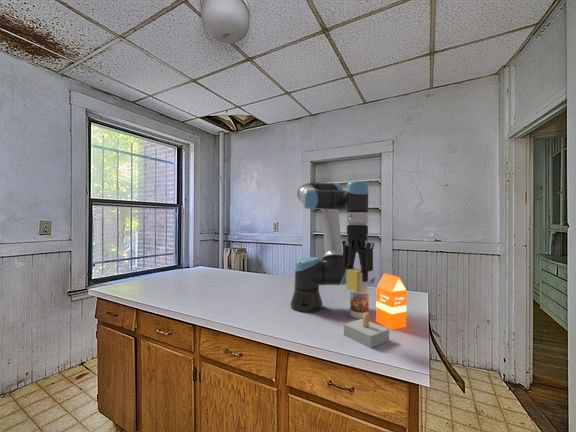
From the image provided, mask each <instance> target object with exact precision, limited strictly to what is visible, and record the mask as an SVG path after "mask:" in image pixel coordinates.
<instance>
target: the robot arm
mask: <svg viewBox="0 0 576 432" xmlns="http://www.w3.org/2000/svg"><path fill="white" fill-rule="evenodd" d="M369 191H370V190H369V183H367V181H350V182H347V185H346V190H344V189H343V187H342V185H341V184H340V183H336V182H335V183H334V182H308V183H305V184H302V185H301V186H300V187H298V189H297V193H296V196H297V198H298V200H299V201H300V202H301V203H302V205H303V208H304V209H307V210H320V211H322V213H321V215H322V216H321V217H322V229H323V242H324V255H323V256H322V260H321V259H320V257H317V256H314V257H313V256H309V257H303V258H299V259H297V260H295V263H294V265H295V266H294V292H293V293H292V294H293V295H292V298H291V301H290V308H291V309H292V310H295V311H297V312H303V313H313V312H314V313H315V312H318V311H321V310H322V309H323V301H322V298H321V294H320V286H344V285H345V286H346V278H347V270H348V269H355V267H354V265H355V260H356V254H358V258H359V259H358V260H359V265H360V269H361V271H360V291H366V290H367V286H368V283H367V282H368V281H369V272H373V270H374V247H375V242H370V241H369V240H368V238H367V236H368V235H369V225H367V224H369ZM339 210H344V211H346V224H347V225H346V235H347V236H348V237H347V239H346V240H342V233H341V224H340V222H341V221H340V212H339Z"/></svg>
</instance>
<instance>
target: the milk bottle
mask: <svg viewBox="0 0 576 432" xmlns="http://www.w3.org/2000/svg"><path fill="white" fill-rule="evenodd" d="M369 296H370V295H369V286H368V285H367V290H366V291H359V292H355V291H352V290H350V297H349V298H350V303H349V307H350V309H349V310H350V313H349V315H350V316H351V317H352V318H354V319H357V320H359V319H363V314H364V313H368V314H369V309H370V308H369V305H370V304H369V300H370V299H369Z"/></svg>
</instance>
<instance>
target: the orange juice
mask: <svg viewBox="0 0 576 432" xmlns="http://www.w3.org/2000/svg"><path fill="white" fill-rule="evenodd" d="M375 295H376V301H375V304H376V308H375V309H376V310H375V311H376V312H375V313H376V314H375V316H376V317H375V322H377V323H378V324H380V325H382V326H383V327H385V328H387V329H389V330H397V329H400V328H401V329H402V328H406V327H407V289H406V287H405V285H404V283H403V281H402V279H401V278H400V276H396V275H392V274H390V273H386V272H384V273H383V274H382V276H381V278H380V279H379V282H378V284H377V286H376V294H375Z"/></svg>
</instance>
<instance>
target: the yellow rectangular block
mask: <svg viewBox="0 0 576 432" xmlns="http://www.w3.org/2000/svg"><path fill="white" fill-rule="evenodd" d="M360 271H361V268H360V269H359V268H354V269H348V270H347V278H346V284H345V287H346V289H345V290H349V291H351V290H352V291H355V292H359V291H360Z"/></svg>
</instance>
